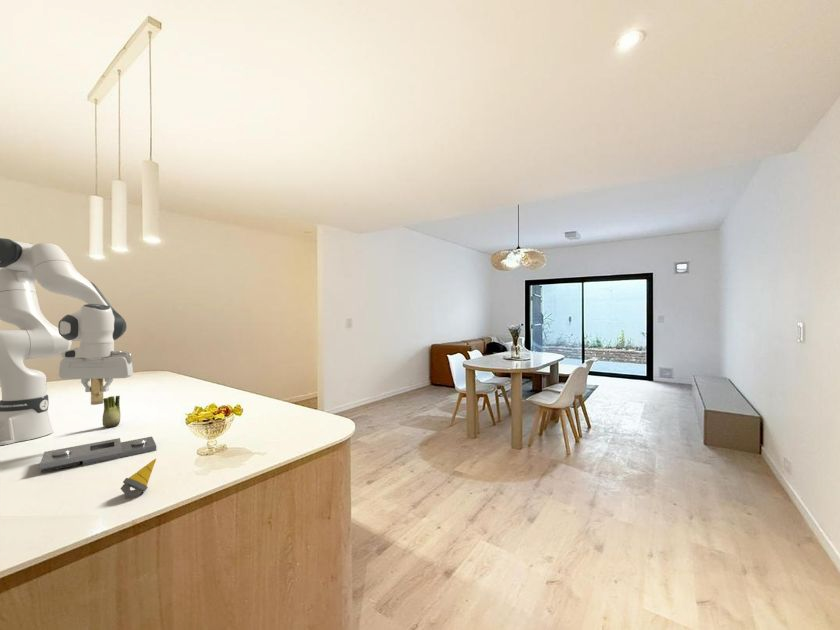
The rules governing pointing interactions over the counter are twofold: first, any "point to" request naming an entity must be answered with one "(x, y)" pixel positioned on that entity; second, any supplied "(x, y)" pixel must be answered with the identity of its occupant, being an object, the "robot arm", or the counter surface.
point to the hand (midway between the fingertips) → (97, 391)
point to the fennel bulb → (111, 411)
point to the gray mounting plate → (95, 453)
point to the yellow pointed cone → (138, 481)
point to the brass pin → (96, 391)
